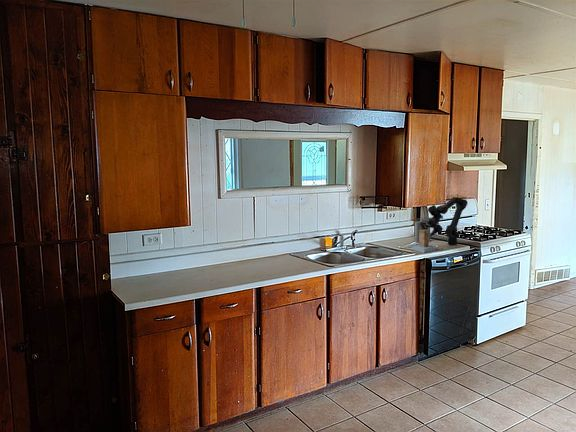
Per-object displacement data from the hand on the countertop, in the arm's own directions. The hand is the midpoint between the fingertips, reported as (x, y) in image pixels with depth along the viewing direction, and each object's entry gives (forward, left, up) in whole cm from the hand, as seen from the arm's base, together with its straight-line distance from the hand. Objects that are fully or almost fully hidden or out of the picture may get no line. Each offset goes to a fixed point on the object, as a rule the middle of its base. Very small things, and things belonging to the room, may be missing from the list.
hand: (425, 235), depth 366 cm
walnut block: (+2, +1, -9) cm, 9 cm away
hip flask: (-3, -34, -12) cm, 36 cm away
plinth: (+2, +1, -12) cm, 12 cm away
